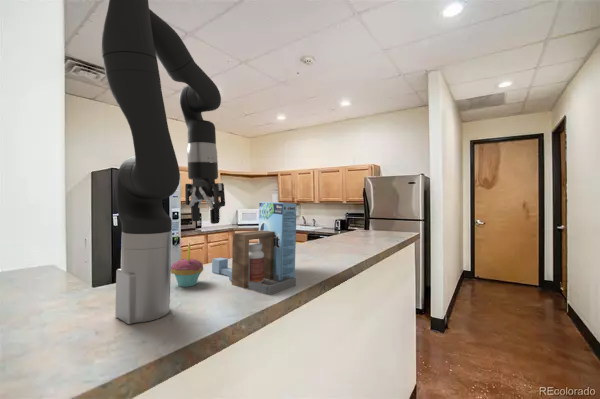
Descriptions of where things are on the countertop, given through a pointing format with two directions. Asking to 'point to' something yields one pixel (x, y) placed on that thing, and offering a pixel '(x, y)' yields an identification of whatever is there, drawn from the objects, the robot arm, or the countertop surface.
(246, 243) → the tunnel
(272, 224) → the light blue upright box
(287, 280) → the dock
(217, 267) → the sled
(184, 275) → the cupcake
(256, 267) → the pill bottle
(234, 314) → the countertop surface
